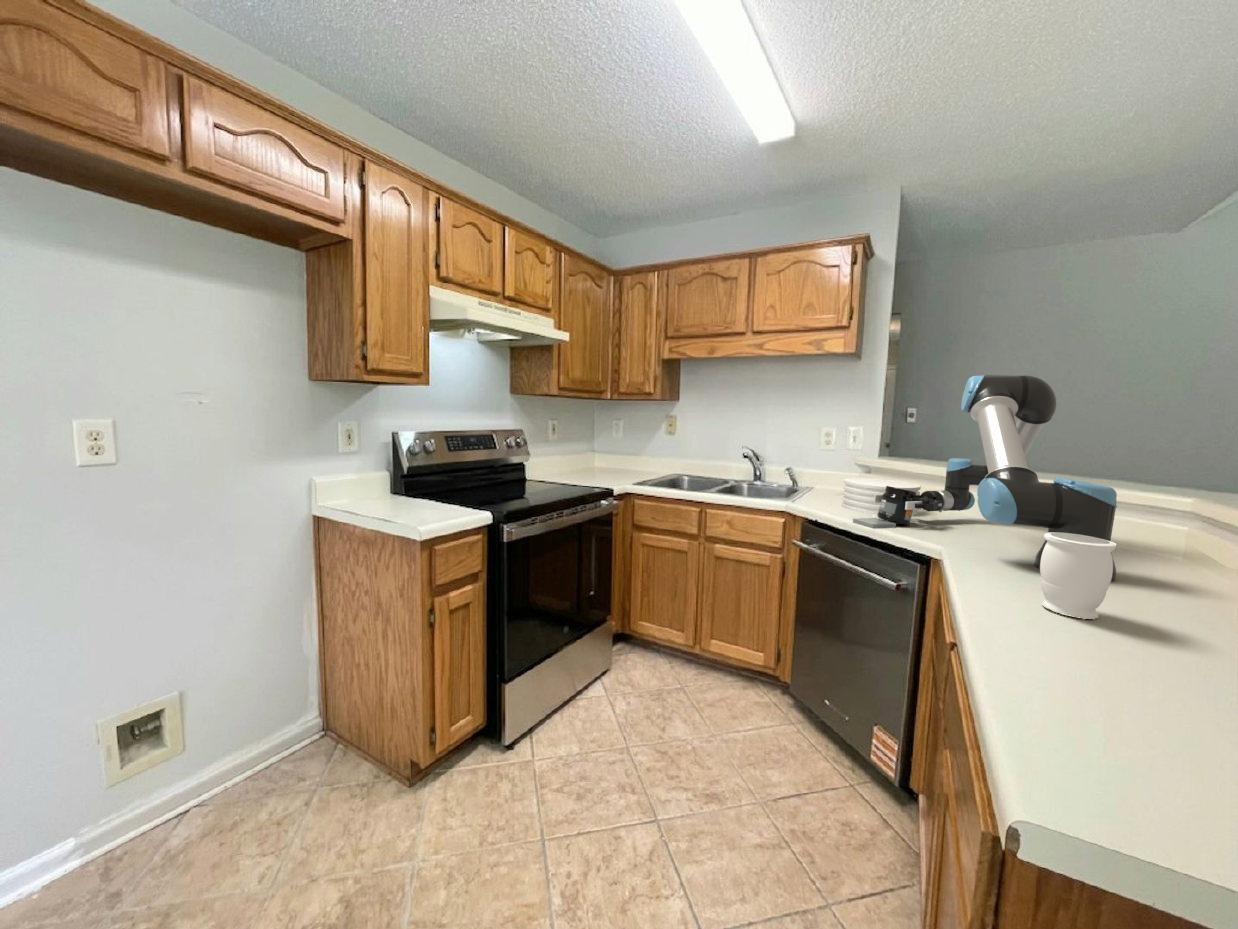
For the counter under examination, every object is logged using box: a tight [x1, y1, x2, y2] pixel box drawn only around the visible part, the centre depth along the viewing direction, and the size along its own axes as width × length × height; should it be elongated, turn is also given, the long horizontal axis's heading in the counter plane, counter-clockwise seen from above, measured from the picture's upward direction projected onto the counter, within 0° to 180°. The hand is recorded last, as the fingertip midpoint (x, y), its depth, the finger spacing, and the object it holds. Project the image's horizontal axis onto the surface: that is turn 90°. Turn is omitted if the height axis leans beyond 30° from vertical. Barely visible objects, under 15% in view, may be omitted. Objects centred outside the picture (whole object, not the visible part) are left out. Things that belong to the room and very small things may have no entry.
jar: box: [1039, 532, 1117, 620], centre depth 96 cm, size 11×10×15 cm
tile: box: [852, 517, 897, 529], centre depth 172 cm, size 2×9×10 cm
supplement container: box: [876, 486, 916, 526], centre depth 174 cm, size 10×10×12 cm
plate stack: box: [841, 477, 921, 516], centre depth 203 cm, size 28×28×12 cm
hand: (889, 502), depth 173 cm, fingers open, 13 cm apart
